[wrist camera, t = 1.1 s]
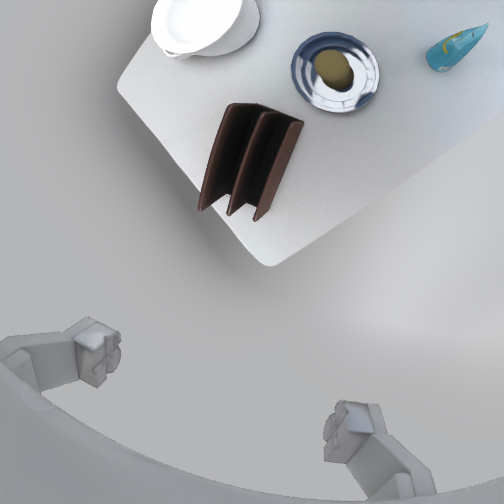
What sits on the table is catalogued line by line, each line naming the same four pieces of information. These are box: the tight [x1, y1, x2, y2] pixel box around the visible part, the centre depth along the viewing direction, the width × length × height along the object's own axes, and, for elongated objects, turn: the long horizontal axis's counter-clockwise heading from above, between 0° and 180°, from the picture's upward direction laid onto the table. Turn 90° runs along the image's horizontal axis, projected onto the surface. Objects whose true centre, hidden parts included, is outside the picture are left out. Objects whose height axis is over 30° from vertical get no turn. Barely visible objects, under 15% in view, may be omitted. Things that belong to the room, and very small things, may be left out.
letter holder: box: [198, 103, 304, 222], centre depth 48 cm, size 10×20×14 cm, turn 160°
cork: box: [314, 50, 354, 90], centre depth 36 cm, size 6×6×11 cm
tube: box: [427, 23, 489, 72], centre depth 24 cm, size 7×5×19 cm, turn 139°
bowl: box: [291, 32, 380, 113], centre depth 39 cm, size 14×14×5 cm
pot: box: [151, 0, 260, 60], centre depth 37 cm, size 22×17×12 cm
